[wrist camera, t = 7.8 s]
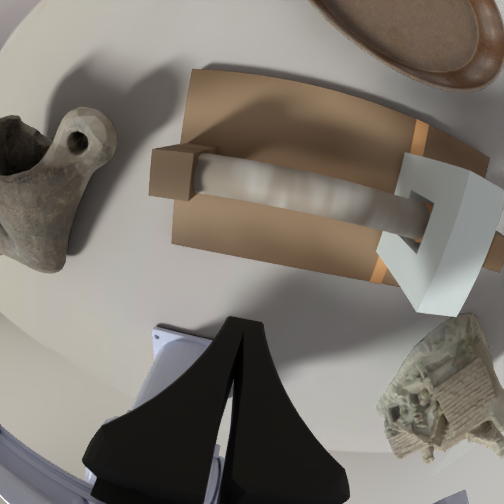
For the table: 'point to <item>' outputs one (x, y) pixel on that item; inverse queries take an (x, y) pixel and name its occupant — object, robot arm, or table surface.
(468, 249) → the collar
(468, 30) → the plant saucer
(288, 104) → the rod stand
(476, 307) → the table surface
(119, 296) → the table surface
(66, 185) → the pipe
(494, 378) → the ceramic cottage
